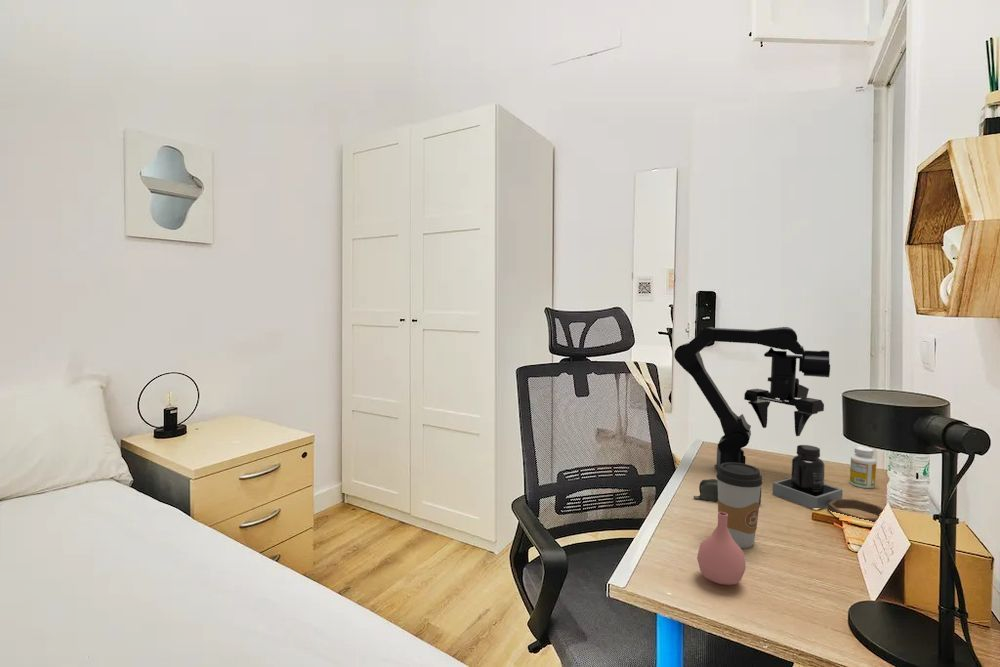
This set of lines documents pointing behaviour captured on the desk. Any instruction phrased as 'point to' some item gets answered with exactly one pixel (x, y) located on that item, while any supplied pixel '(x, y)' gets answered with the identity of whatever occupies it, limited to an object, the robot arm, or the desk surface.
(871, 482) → the supplement bottle
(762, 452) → the desk surface
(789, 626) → the desk surface
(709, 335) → the robot arm
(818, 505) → the tray
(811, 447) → the supplement bottle
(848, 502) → the brown shallow dish
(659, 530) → the desk surface
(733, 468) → the coffee cup
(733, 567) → the pink vase
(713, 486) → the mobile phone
